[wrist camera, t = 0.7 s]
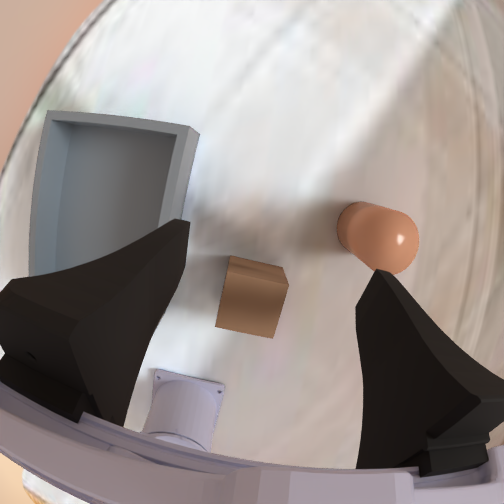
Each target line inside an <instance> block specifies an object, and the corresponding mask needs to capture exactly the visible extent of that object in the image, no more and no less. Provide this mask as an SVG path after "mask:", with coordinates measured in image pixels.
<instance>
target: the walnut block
mask: <svg viewBox="0 0 504 504" xmlns="http://www.w3.org/2000/svg"><path fill="white" fill-rule="evenodd" d="M288 287H289V284H288V281H287V278H286V276H285V273H284V270H283V267H279V266H274V265H270V264H266V263H261V262H257V261H252V260H248V259H243V258H239V257H235V256H230V260H229V264H228V269H227V273H226V278H225V282H224V287H223V291H222V296H221V300H220V305H219V310H218V315H217V320H216V325H215V327H218V328H223V329H228V330H232V331H237V332H242V333H247V334H252V335H257V336H262V337H267V338H273V337H274V334H275V330H276V327H277V324H278V321H279V317H280V314H281V311H282V307H283V304H284V301H285V297H286V294H287V290H288Z"/></svg>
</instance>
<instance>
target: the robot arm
mask: <svg viewBox="0 0 504 504" xmlns="http://www.w3.org/2000/svg"><path fill="white" fill-rule="evenodd" d="M189 229H190V222H188V221H184V220H180V219H176V218H174V219H172V220H171V221H169V222H167V223H166V224H164V225H162V226H161V227H159V228H157V229H156V230H154V231H152V232H150V233H149V234H147V235H145V236H144V237H142V238H140V239H138V240H136V241H134V242H133V243H131V244H129V245H127V246H125V247H123V248H121V249H119V250H117V251H115V252H113V253H110V254H108V255H106V256H103V257H101V258H98V259H96V260H93V261H90V262H87V263H84V264H81V265H78V266H75V267H72V268H69V269H65V270H61V271H57V272H53V273H48V274H43V275H38V276H31V277H24V278H17V279H12V280H11V281H10V282H9V283H8V284H7V285H6V286H5V287H4V289H3V290H2V291H1V292H0V345H1V347H2V349H3V350H4V352H5V354H4V356H3V357H2V359H1V360H0V453H2V454H3V455H5V456H6V457H8V458H9V459H10V460H12V461H13V462H15V463H16V464H18V465H20V466H21V467H23V468H24V469H26V470H27V471H29V472H31V473H32V474H34V475H36V476H37V477H39V478H41V479H43V480H44V481H46V482H48V483H50V484H52V485H53V486H55V487H57V488H59V489H61V490H63V491H65V492H67V493H69V494H71V495H73V496H75V497H77V498H79V499H81V500H83V501H85V502H88V503H90V504H504V445H501V446H496V447H493V448H490V449H488V450H487V449H486V445H485V444H486V443H488V442H489V441H490V437H489V432H490V431H492V430H493V429H494V428H496V427H497V426H498V425H500V424H501V423H502V422H503V421H504V380H503V379H502V378H500V377H498V376H497V375H495V374H493V373H492V372H490V371H489V370H488V369H486V368H485V367H483V366H482V365H480V364H479V363H478V362H477V361H475V360H474V359H473V358H471V357H470V356H469V355H468V354H467V353H466V352H464V351H463V350H462V349H461V348H460V347H459V346H457V345H456V344H455V343H454V342H453V341H452V340H451V339H450V338H449V337H448V336H447V335H446V334H445V333H444V332H443V331H442V330H441V329H440V328H439V327H438V326H437V325H436V324H435V323H434V321H433V320H432V319H431V318H430V317H429V316H428V315H427V314H426V312H425V311H424V310H423V309H422V308H421V307H420V305H419V304H418V303H417V302H416V301H415V299H414V298H413V297H412V296H411V295H410V294H409V292H408V291H407V290H406V289H405V288H404V286H403V285H402V284H401V283H400V282H399V281H398V280H397V279H396V278H395V277H394V276H393V275H392V274H391V273H390V272H388V271H384V270H380V269H376V270H375V272H374V274H373V276H372V278H371V279H370V281H369V283H368V285H367V287H366V289H365V291H364V292H363V294H362V296H361V298H360V300H359V301H358V303H357V305H356V333H357V340H358V347H359V354H360V361H361V368H362V375H363V419H362V431H361V440H360V448H359V454H358V459H357V465H356V469H328V468H311V467H299V466H289V465H280V464H272V463H264V462H257V461H251V460H245V459H239V458H234V457H228V456H223V455H219V454H214V453H211V446H212V438H213V432H214V428H215V424H216V420H217V417H218V413H219V409H220V405H221V401H222V397H223V394H224V390H225V386H224V385H223V384H220V383H216V382H211V381H206V380H201V379H197V378H193V377H188V376H184V375H180V374H176V373H172V372H168V371H164V370H160V369H157V370H156V371H155V373H154V384H153V396H152V406H151V409H150V411H149V414H148V417H147V419H146V422H145V425H144V428H143V430H142V432H140V433H138V432H135V431H132V430H129V429H126V428H124V427H123V426H124V422H125V418H126V414H127V410H128V407H129V403H130V400H131V396H132V393H133V390H134V386H135V383H136V380H137V377H138V374H139V371H140V368H141V365H142V362H143V359H144V356H145V353H146V351H147V348H148V345H149V342H150V340H151V338H152V336H153V333H154V331H155V329H156V327H157V325H158V323H159V321H160V320H161V318H162V316H163V314H164V312H165V310H166V308H167V306H168V304H169V302H170V300H171V299H172V297H173V295H174V293H175V291H176V289H177V287H178V284H179V282H180V279H181V276H182V274H183V271H184V268H185V264H186V254H187V246H188V237H189ZM157 376H159V377H160V378H159V377H157ZM218 390H220V391H221V392H219V391H218Z"/></svg>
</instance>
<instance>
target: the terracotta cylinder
mask: <svg viewBox="0 0 504 504" xmlns="http://www.w3.org/2000/svg"><path fill="white" fill-rule="evenodd" d="M337 234H338V238H339V240H340V242H341V244H342V245H343V246H344V247H345V248H346V249H347V250H349V251H350V252H351V253H352V254H354V255H355V256H356V257H357V258H359V259H360V260H361V261H362V262H363V263H365V264H366V265H367V266H368V267H370V268H371V269H372V270H373V271H375V270H376V269H380V270H384V271H388V272H390V273H391V274H392V275H394V274H397V273H400V272H402V271H403V270H405V269H406V268H407V267H408V266H409V265H410V264H411V263H412V261H413V260H414V258H415V256H416V254H417V251H418V247H419V234H418V230H417V227H416V225H415V223H414V222H413V220H412V219H411V218H410V217H409V216H408V215H406V214H404V213H402V212H399V211H396V210H392V209H389V208H385V207H382V206H378V205H374V204H371V203H367V202H356V203H353V204H351V205H349V206H348V207H347V208H346V209H345V210H344V211H343V212H342V213H341V215H340V217H339V219H338V223H337Z"/></svg>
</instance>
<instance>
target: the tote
mask: <svg viewBox="0 0 504 504" xmlns="http://www.w3.org/2000/svg"><path fill="white" fill-rule="evenodd" d="M199 135H200V134H199V133H198V132H196V131H195V130H194V129H193V128H192V127H190V126H186V125H180V124H174V123H168V122H162V121H155V120H148V119H140V118H133V117H124V116H116V115H106V114H95V113H83V112H69V111H50V110H47V114H46V118H45V122H44V127H43V132H42V137H41V142H40V147H39V152H38V158H37V164H36V171H35V178H34V186H33V195H32V205H31V217H30V233H29V277H31V276H38V275H43V274H48V273H53V272H57V271H61V270H65V269H69V268H72V267H75V266H78V265H81V264H84V263H87V262H90V261H93V260H96V259H98V258H101V257H103V256H106V255H108V254H110V253H113V252H115V251H117V250H119V249H121V248H123V247H125V246H127V245H129V244H131V243H133V242H134V241H136V240H138V239H140V238H142V237H144V236H145V235H147V234H149V233H150V232H152V231H154V230H156V229H157V228H159V227H161V226H162V225H164V224H166V223H167V222H169V221H171V220H172V219H174V218H176V219H180V220H181V217H182V212H183V207H184V202H185V197H186V192H187V188H188V183H189V178H190V174H191V169H192V165H193V161H194V156H195V152H196V148H197V144H198V140H199ZM165 311H166V310H165ZM164 314H165V312H164ZM164 314H163V316H164ZM163 316H162V317H163ZM161 319H162V318H161ZM160 321H161V320H160ZM160 321H159V323H160ZM159 323H158V325H159ZM158 325H157V326H158ZM156 328H157V327H156ZM155 330H156V329H155ZM154 332H155V331H154ZM153 334H154V333H153Z"/></svg>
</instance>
